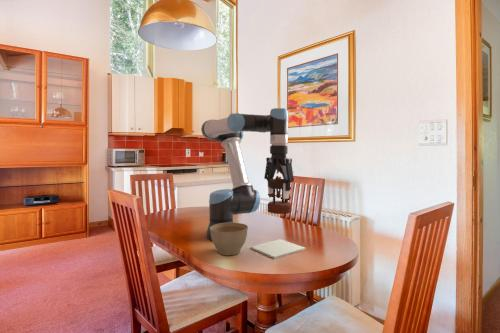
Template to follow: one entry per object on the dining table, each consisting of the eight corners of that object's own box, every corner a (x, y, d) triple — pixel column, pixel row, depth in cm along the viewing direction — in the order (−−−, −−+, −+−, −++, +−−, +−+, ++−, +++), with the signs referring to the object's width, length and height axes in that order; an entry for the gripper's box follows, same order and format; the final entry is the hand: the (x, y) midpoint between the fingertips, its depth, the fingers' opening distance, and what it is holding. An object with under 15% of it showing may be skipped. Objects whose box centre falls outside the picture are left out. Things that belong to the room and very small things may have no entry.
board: (250, 248, 132) (250, 246, 132) (280, 240, 143) (280, 239, 143) (274, 258, 119) (274, 256, 119) (305, 249, 130) (305, 247, 130)
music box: (280, 206, 140) (283, 164, 137) (298, 213, 131) (302, 168, 129) (256, 211, 129) (259, 165, 127) (274, 218, 121) (278, 169, 119)
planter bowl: (232, 243, 139) (232, 220, 138) (255, 252, 127) (255, 227, 126) (202, 251, 128) (202, 226, 128) (225, 261, 116) (225, 234, 116)
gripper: (256, 145, 135) (256, 194, 136) (290, 144, 117) (289, 201, 119) (269, 145, 139) (268, 193, 141) (303, 144, 122) (302, 199, 123)
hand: (278, 196), depth 130 cm, fingers closed on music box, 9 cm apart
